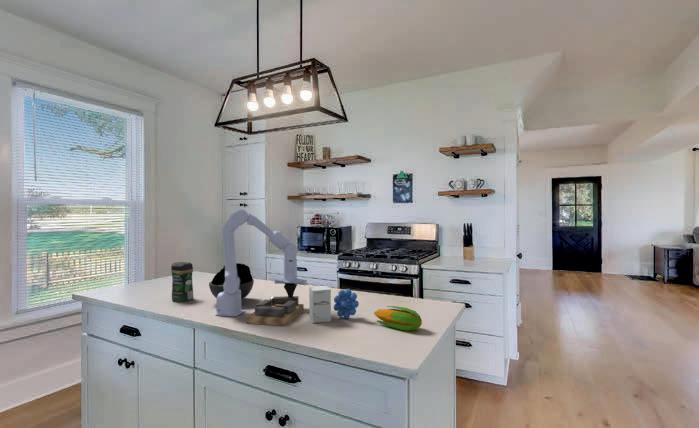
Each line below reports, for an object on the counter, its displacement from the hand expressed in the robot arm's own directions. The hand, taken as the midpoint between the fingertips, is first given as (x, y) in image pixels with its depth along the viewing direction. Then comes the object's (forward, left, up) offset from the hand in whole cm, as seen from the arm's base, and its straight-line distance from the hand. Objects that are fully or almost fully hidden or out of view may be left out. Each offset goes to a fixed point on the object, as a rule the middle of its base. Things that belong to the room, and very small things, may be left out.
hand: (290, 300), depth 151 cm
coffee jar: (-58, +4, -4) cm, 59 cm away
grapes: (+28, -9, -4) cm, 29 cm away
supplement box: (+18, -13, -4) cm, 22 cm away
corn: (+47, -15, -4) cm, 50 cm away
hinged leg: (-2, -4, -1) cm, 4 cm away
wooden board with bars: (-1, -12, -3) cm, 12 cm away
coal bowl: (-31, +4, -4) cm, 32 cm away
